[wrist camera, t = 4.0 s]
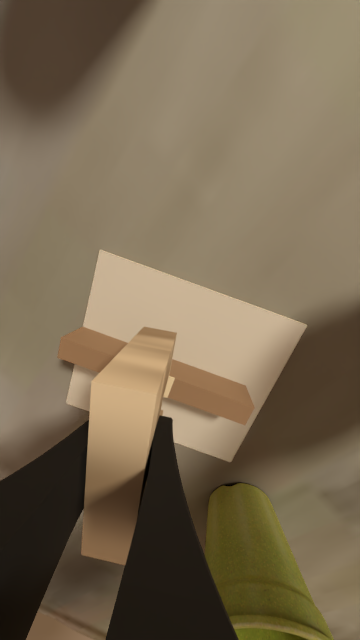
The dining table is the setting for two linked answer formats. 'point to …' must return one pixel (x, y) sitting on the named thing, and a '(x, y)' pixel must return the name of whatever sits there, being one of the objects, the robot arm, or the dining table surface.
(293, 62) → the dining table surface
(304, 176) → the dining table surface
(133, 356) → the maple plate
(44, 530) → the robot arm
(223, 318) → the rail board
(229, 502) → the plant pot
